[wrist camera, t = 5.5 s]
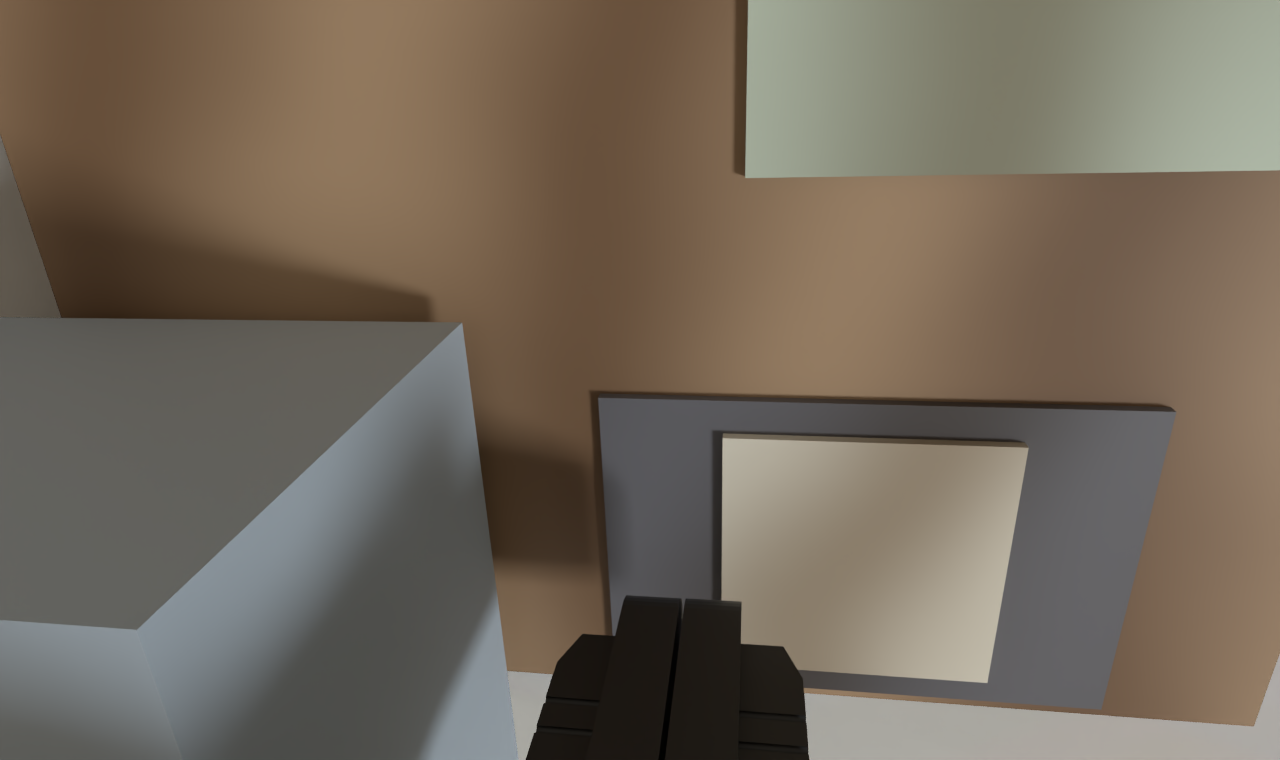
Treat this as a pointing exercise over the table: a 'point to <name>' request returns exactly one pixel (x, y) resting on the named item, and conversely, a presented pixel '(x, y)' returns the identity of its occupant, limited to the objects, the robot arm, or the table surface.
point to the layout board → (753, 299)
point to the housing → (244, 544)
